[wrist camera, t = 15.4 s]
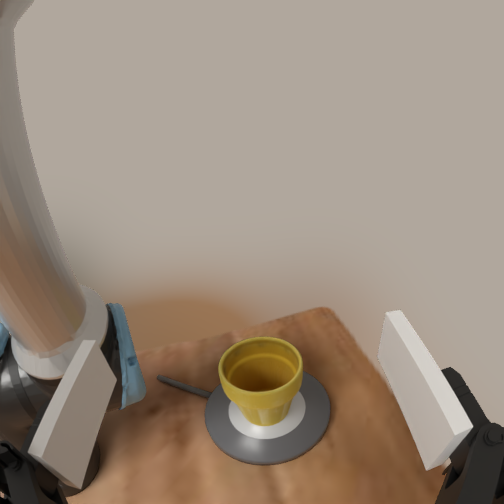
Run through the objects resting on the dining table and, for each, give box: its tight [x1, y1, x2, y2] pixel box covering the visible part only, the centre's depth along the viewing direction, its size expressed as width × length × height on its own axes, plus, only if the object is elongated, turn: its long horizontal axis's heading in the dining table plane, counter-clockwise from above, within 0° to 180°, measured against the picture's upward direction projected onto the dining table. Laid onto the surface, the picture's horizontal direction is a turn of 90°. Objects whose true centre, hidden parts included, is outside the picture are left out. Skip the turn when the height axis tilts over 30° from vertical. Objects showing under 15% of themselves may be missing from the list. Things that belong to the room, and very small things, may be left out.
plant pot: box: [218, 337, 303, 426], centre depth 37 cm, size 10×10×10 cm
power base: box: [157, 371, 330, 465], centre depth 42 cm, size 30×18×2 cm, turn 67°
